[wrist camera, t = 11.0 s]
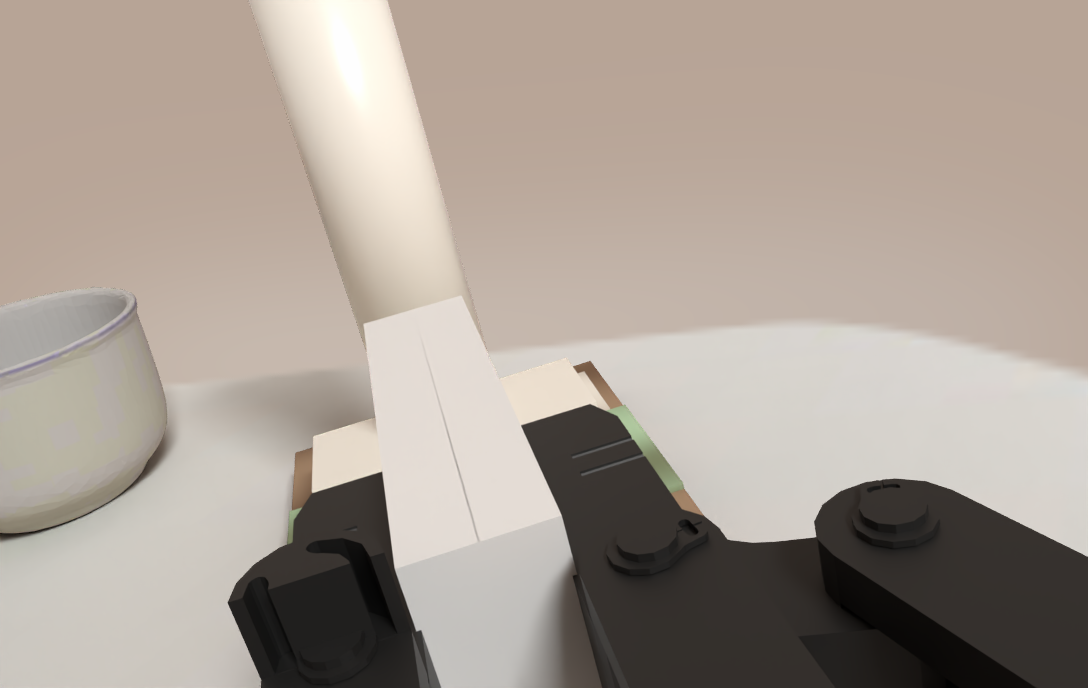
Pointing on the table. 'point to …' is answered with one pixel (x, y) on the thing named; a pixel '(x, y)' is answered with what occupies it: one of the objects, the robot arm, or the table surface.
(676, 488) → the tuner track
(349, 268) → the tuning slider
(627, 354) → the table surface
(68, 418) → the teacup
